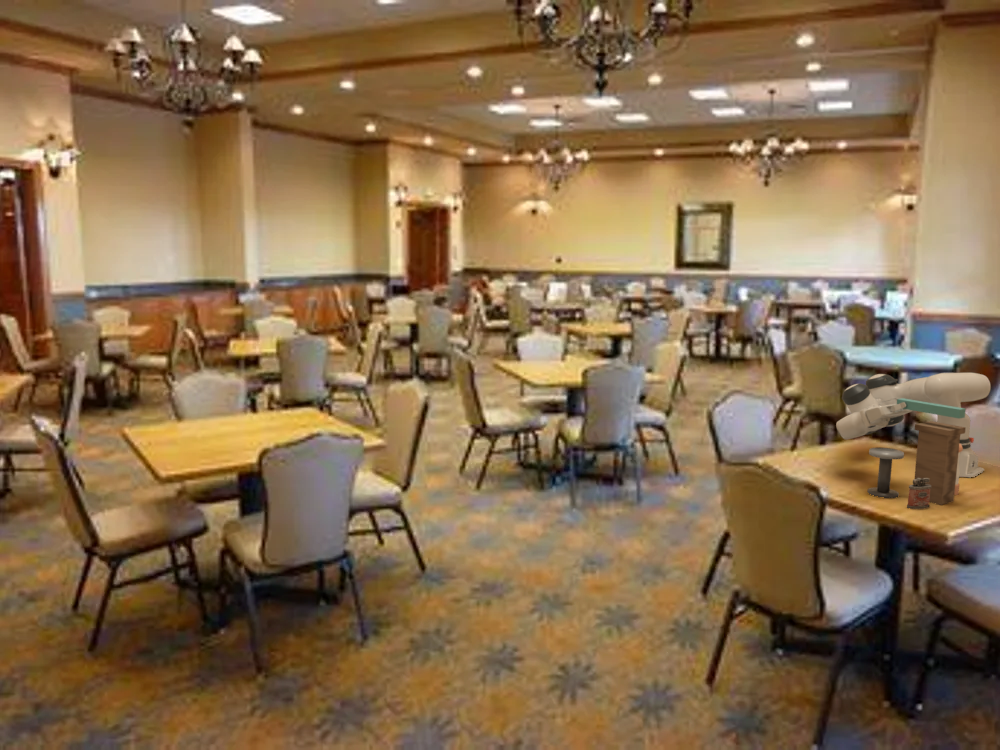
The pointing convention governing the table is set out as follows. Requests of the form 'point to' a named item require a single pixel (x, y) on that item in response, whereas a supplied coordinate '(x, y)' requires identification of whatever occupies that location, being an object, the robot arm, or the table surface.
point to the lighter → (919, 494)
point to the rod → (933, 408)
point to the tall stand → (938, 458)
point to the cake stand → (885, 471)
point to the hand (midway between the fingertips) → (909, 403)
